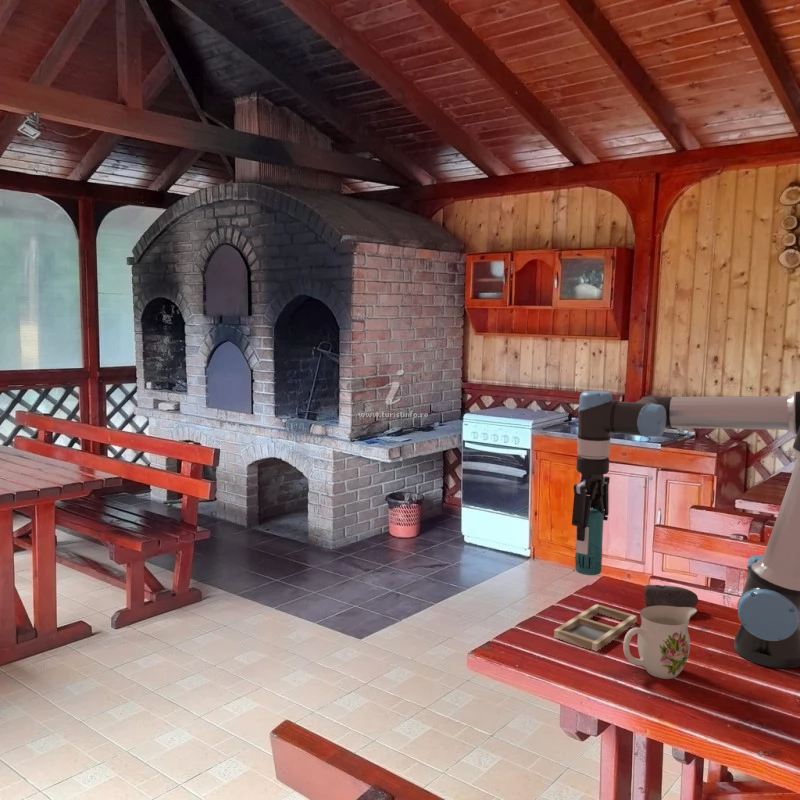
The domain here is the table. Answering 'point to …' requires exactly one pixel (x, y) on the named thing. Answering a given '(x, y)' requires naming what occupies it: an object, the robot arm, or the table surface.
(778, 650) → the robot arm
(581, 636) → the bottle rack
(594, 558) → the beverage bottle
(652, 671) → the pitcher
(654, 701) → the table surface
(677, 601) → the perforated stone tool
